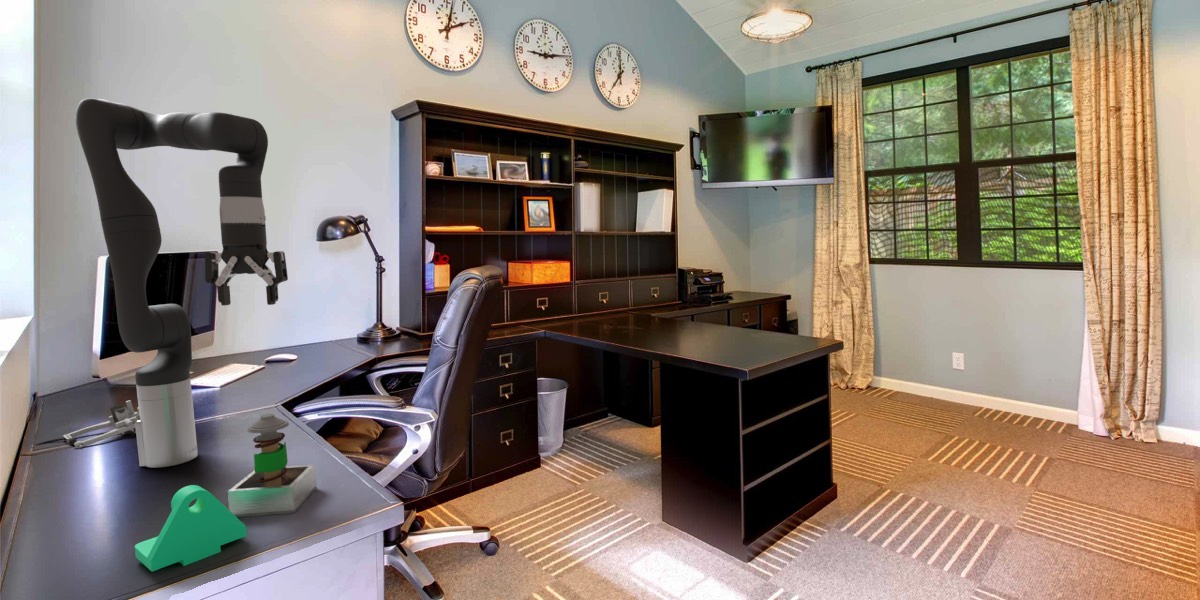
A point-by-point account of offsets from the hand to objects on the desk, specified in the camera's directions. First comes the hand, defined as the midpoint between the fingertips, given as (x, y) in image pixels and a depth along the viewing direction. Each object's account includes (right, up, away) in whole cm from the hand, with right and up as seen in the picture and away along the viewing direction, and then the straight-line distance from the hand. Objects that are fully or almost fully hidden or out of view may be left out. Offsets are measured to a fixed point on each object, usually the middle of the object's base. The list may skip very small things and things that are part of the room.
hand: (249, 304), depth 117 cm
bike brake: (-53, -33, +27) cm, 68 cm away
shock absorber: (+12, -34, -13) cm, 38 cm away
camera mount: (+9, -37, -29) cm, 47 cm away
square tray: (+12, -34, -13) cm, 39 cm away
